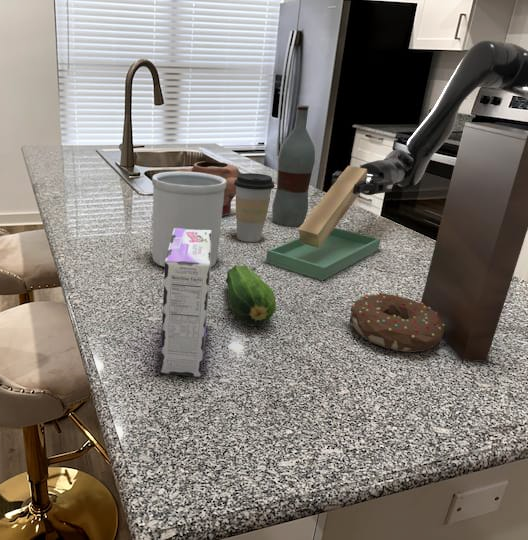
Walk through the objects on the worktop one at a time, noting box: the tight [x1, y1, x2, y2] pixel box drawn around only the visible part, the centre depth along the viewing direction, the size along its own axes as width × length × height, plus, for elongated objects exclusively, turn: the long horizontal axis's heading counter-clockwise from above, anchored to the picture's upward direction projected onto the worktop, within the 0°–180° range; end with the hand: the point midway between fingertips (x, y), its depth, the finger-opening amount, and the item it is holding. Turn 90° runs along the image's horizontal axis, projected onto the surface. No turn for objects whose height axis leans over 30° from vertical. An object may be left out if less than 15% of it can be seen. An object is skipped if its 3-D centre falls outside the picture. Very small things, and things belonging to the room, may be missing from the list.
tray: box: [265, 227, 382, 282], centre depth 114 cm, size 27×13×3 cm, turn 137°
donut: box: [349, 292, 445, 353], centre depth 80 cm, size 14×14×5 cm
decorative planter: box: [177, 160, 241, 217], centre depth 141 cm, size 20×12×14 cm, turn 91°
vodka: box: [271, 104, 316, 227], centre depth 133 cm, size 9×9×30 cm
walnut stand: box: [420, 121, 528, 362], centre depth 76 cm, size 4×16×32 cm, turn 177°
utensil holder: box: [151, 170, 227, 268], centre depth 106 cm, size 15×15×18 cm
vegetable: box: [225, 264, 277, 327], centre depth 88 cm, size 7×7×20 cm
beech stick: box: [297, 165, 367, 248], centre depth 111 cm, size 4×22×4 cm, turn 137°
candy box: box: [159, 228, 212, 378], centre depth 71 cm, size 14×6×16 cm, turn 174°
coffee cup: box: [234, 172, 276, 243], centre depth 121 cm, size 9×9×15 cm
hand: (344, 187), depth 112 cm, fingers closed on beech stick, 4 cm apart
